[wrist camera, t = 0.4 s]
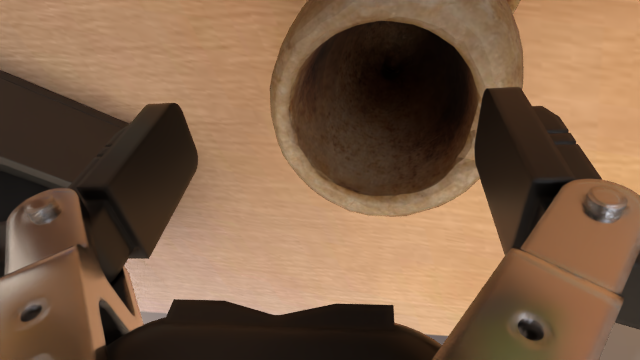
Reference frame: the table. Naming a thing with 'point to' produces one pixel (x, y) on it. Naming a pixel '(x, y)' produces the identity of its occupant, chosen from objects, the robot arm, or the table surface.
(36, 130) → the chest
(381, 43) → the stone cup
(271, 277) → the table surface
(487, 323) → the robot arm
